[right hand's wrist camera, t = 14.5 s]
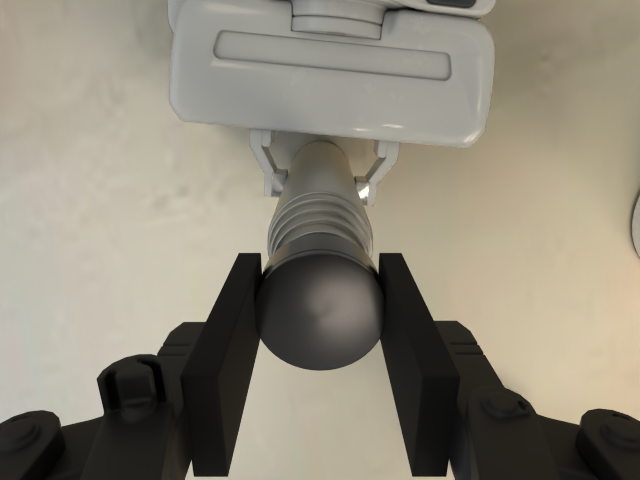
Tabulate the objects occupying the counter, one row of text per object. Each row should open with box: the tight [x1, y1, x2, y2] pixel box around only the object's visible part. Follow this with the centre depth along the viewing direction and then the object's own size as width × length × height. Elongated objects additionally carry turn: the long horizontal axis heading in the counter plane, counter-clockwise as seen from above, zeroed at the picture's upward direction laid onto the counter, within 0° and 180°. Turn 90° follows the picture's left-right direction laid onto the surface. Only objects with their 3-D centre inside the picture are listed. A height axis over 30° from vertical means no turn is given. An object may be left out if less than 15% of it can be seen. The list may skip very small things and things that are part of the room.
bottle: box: [268, 141, 373, 259], centre depth 24 cm, size 5×5×24 cm
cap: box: [254, 234, 386, 370], centre depth 14 cm, size 4×4×2 cm
